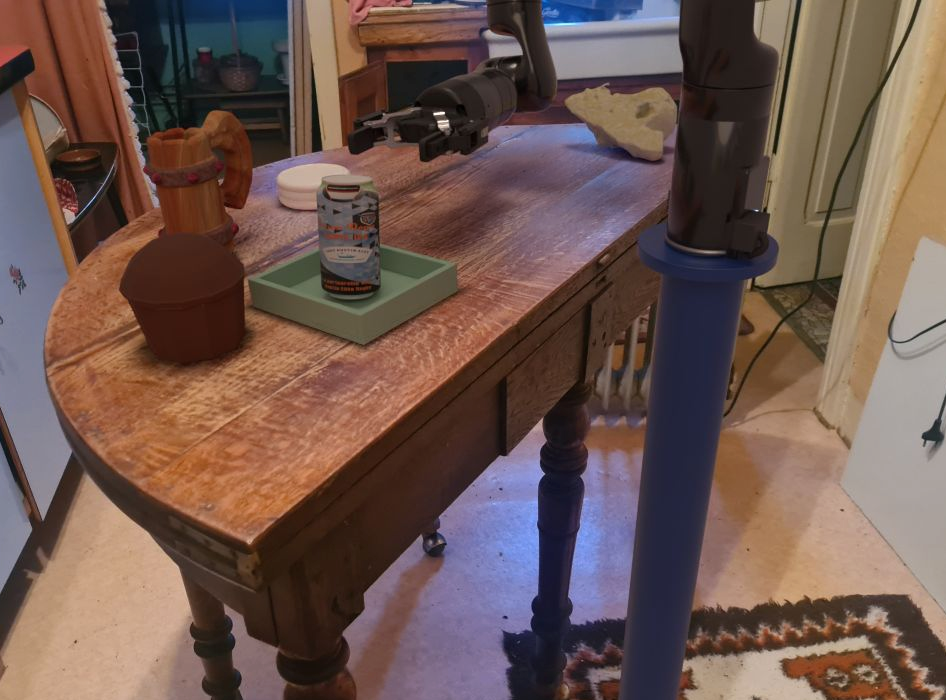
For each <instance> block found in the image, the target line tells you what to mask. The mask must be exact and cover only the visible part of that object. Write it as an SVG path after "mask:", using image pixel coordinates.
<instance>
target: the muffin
mask: <svg viewBox="0 0 946 700" xmlns="http://www.w3.org/2000/svg"><path fill="white" fill-rule="evenodd" d="M245 271H246V270H245V263H243V262H242V261H241V260H240V259H239V258H238V257H237V256H236V255H235V254H234V253H233V252H232V253H231V252H230V251H229V250H228V249H227V248H225V247H224V246H223V245H221V244H219V243H218V242H216V241H214V240H212V239H210V238H208V237H205V236H202V235H199V234H194V233H174V234H168V235H163V236H161V237H159V236H158V237H156V238H153V239H151V240H150V241H148V242H147V243H146V244H145V245H143V246H142V247H141V248H140V249H139V250H137V251H136V252H135V253H134V254H133V255H132V256H131V258H130V259H129V261H128V264H127V266H126V267H125V270H124V272H123V275H122V277H121V278H120V282H119V287H118V291H119V292H120V294H121V295H122V297H123V298H124V299H125V300H127V302H128V304H129V307H130V308H131V310H132V313H133V316H134V317H135V319H136V321H137V324H138V326H139V328H140V330H141V332H142V334H143V337H144V339H145V340H146V343H147V345H148V347H149V349H151V351H152V352H154V354H155V356H156V357H157V360H163V361H170V362H175V363H179V364H188V363H193V362H199V361H207V360H214V359H216V358H218V357H220V356H222V355H224V354H226V353H228V352H230V351H233V350H235V349H238V347H239V345H240V343H241V341H242V339H243V338H244V337H245V336H246V309H245V307H246V305H245V276H246V272H245Z"/></svg>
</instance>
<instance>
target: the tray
mask: <svg viewBox="0 0 946 700" xmlns="http://www.w3.org/2000/svg"><path fill="white" fill-rule="evenodd" d="M380 278H381V287H380V288H379V289H378V290H377V291H375V292H374V294H373V295H372V296H370V297H367V298H362V299H339V298H335V297H332V296H331V295H330V294H329V292H326V291H325V290H323V289H322V287H321V269H320V251H319V246H318V247H316V248H314V249H312V250H310V251H307V252H305V253H302V254H300V255H298V256H296V257H294V258H292V259H289V260H287V261H285V262H282V263H280V264H278V265H276V266H273V267H270V268H269V269H267V270H264V271H262V272H259V273H257V274H255V275H253V276H251V277H248V278H247V283H248V289H249V294H250V301H251V304H252V308H255V309H258V310H262V311H264V312H267V313H270V314H273V315H275V316H279V317H282V318H284V319H287V320H290V321H293V322H296V323H299V324H302V325H304V326H307V327H310V328H313V329H315V330H318V331H322V332H325V333H327V334H330V335H333V336H336V337H338V338H342V339H344V340H347V341H350V342H354V343H356V344H359V345H362V346H366V345H367V344H369V343H370V342H372V341H374V340H375V339H377V338H379V337H381V336H383V335H384V334H387V333H388V332H390V331H391V330H393V329H395V328H397V327H399V326H400V325H402V324H403V323H405V322H407V321H408V320H410V319H412V318H414V317H416V316H417V315H419V314H420V313H423V312H424V311H426V310H428V309H430V308H431V307H433V306H435V305H436V304H438V303H440V302H441V301H443V300H445V299H447V298H449V297H450V296H452V295H455V294H456V293H457V292H458V291H459V287H458V286H459V285H458V265H457V263H456V262H452V261H448V260H446V259H445V260H444V259H440V258H437V257H432V256H428V255H426V254H422V253H417V252H413V251H411V250H406V249H402V248H400V247H394V246H391V245H387V244H383V243H380Z"/></svg>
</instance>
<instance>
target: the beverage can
mask: <svg viewBox="0 0 946 700" xmlns="http://www.w3.org/2000/svg"><path fill="white" fill-rule="evenodd" d="M379 194H380V193H379V191H378V188H377V187H376V185H375V184H374V183H373V177H371V176H368V175H361V174H351V175H330V176H325V177H323V178H322V183H321V185H320V186H319V188H318V190H317V194H316V196H317V210H316V211H317V212H316V214H317V232H318V247H319V251H320V269H321V287H322V289H323V290H325V291H326V292H329V294H330V295H331V296H332V297H335V298H339V299H362V298H367V297H370V296H372V295H373V294H374V292H375V291H377V290H378V289H379V288H380V287H381V278H380V244H381V242H380V241H381V240H380V238H381V237H380V198H379V197H380V195H379Z"/></svg>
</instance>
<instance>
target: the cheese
mask: <svg viewBox="0 0 946 700" xmlns="http://www.w3.org/2000/svg"><path fill="white" fill-rule="evenodd" d="M605 86H610V82H606V83H604V84H602V85H600V86H597V87H595V88H589V87H585V89H584V91H582V92H579V93H575V94H572V95H570V96H568V97H567V98H566V99H564V105H565V106H566V108H567V109H568V110H569V112H570V113H571V114H573V115H575V117H577V118H578V119H579V120H581V121H582V122H583V123H584V124H585V125H586V126H587V129H588V130H589V131H590V132H591V133H592V134H593V137H594V138H595V141H596V143H597V145H598V147H599V148H601V149H603V148H606V147H610V149H616V148H622V149H623V150H625V151H627V152H628V153H629V154H630V155H631V156H632V157H633V158H635V159H637V158H639V159H645V160H647V161H650V162H654V161H658V160H660V159H661V158H662V157H663V154H664V147H665V141H666V140H668V139H669V137H670V136H671V135H672V134H673V133H674V131H675V128H676V126H677V120H678V106H677V104H676V102H675V101H674V100H673V98H672V96H671V94H670V93H668V92H667V91H666V90H665V89H664V88H663V87H649V88H646V89H644V90H642V91H640V92H637V93H633V94H631V93H630V94H629V93H628V94H625V93H623V94H622V93H618V92H615V93H614V94H611V91H610V89H609V88H607V87H605Z"/></svg>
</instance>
